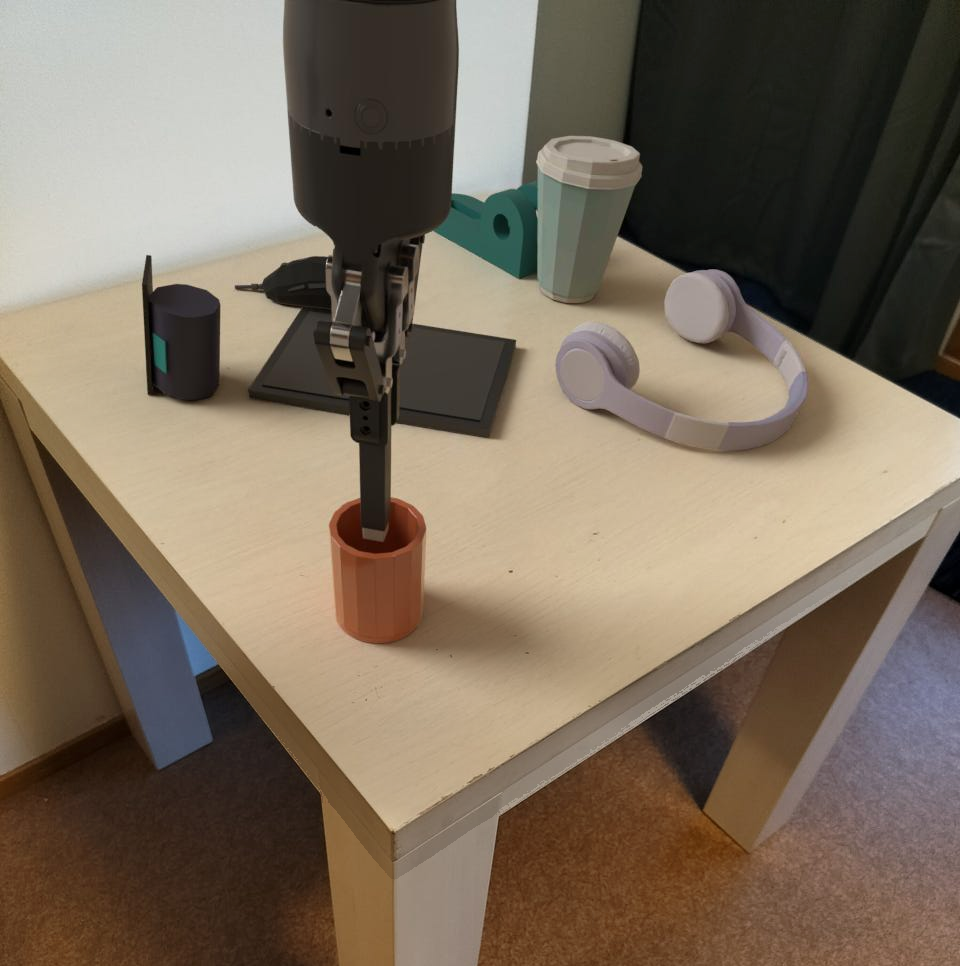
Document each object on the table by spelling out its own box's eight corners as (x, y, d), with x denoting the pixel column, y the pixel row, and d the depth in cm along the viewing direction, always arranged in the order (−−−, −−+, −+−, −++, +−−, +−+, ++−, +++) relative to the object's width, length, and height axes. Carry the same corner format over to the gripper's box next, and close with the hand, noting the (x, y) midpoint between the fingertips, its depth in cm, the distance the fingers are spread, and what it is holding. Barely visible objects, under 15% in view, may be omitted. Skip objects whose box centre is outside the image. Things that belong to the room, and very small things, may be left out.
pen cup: (324, 634, 62) (317, 548, 56) (348, 575, 66) (344, 488, 60) (411, 650, 62) (413, 565, 56) (430, 589, 66) (434, 504, 60)
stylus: (360, 539, 58) (356, 358, 49) (367, 523, 59) (364, 344, 50) (384, 543, 58) (385, 363, 48) (390, 528, 59) (392, 349, 50)
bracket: (560, 263, 103) (570, 192, 97) (518, 278, 100) (526, 206, 94) (457, 207, 112) (460, 139, 106) (415, 220, 108) (416, 150, 102)
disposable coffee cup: (505, 275, 100) (519, 128, 89) (588, 262, 104) (611, 120, 93) (549, 320, 94) (570, 169, 83) (636, 305, 98) (667, 159, 87)
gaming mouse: (241, 275, 96) (236, 237, 93) (379, 286, 96) (379, 249, 93) (228, 303, 92) (223, 265, 89) (373, 315, 92) (372, 277, 89)
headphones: (539, 385, 85) (710, 496, 77) (553, 317, 80) (738, 430, 72) (675, 313, 97) (834, 403, 89) (694, 250, 91) (866, 340, 84)
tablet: (248, 398, 81) (247, 388, 80) (303, 314, 91) (302, 304, 91) (488, 438, 79) (489, 428, 78) (515, 347, 90) (516, 338, 89)
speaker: (124, 393, 79) (110, 280, 72) (152, 363, 83) (142, 252, 76) (207, 414, 79) (202, 303, 72) (231, 383, 83) (228, 275, 76)
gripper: (334, 49, 45) (345, 361, 58) (236, 143, 36) (275, 490, 48) (481, 71, 44) (459, 381, 57) (420, 172, 35) (411, 514, 48)
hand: (375, 430), depth 53 cm, fingers closed on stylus, 1 cm apart
